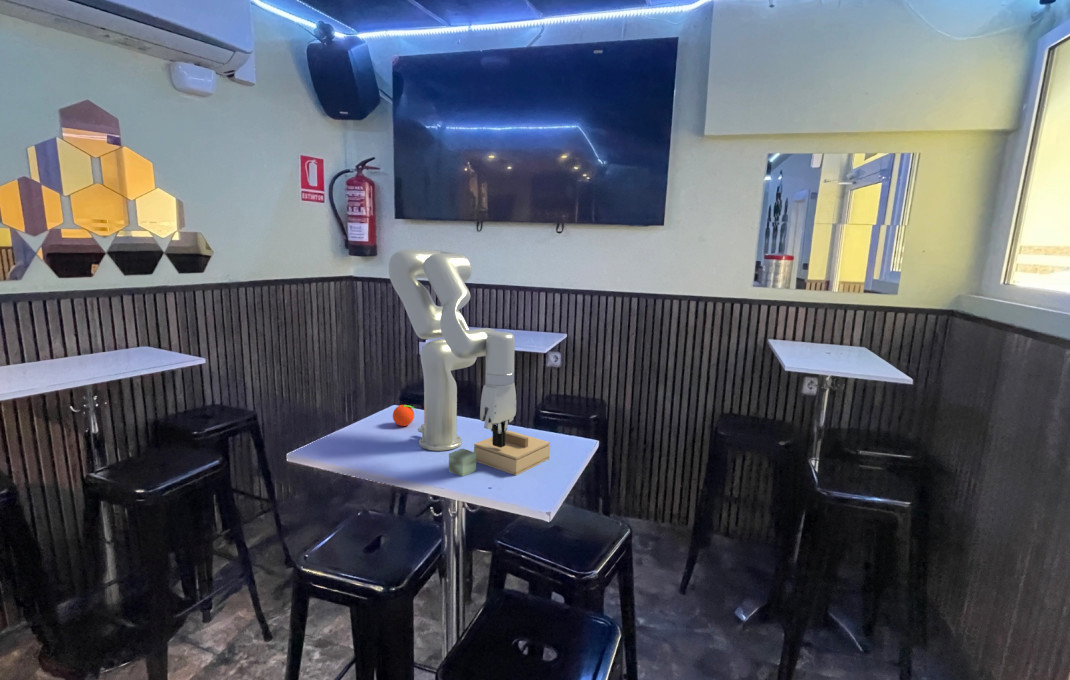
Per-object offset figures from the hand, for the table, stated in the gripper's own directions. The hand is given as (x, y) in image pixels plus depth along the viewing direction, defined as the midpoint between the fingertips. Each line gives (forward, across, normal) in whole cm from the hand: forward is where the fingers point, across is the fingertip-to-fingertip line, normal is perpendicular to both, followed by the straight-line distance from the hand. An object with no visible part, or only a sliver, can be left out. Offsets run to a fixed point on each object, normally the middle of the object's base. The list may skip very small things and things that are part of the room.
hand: (498, 445), depth 140 cm
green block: (+6, +8, -5) cm, 12 cm away
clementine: (+6, -6, -45) cm, 46 cm away
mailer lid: (+2, -6, 0) cm, 6 cm away
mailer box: (+6, -6, 0) cm, 8 cm away
